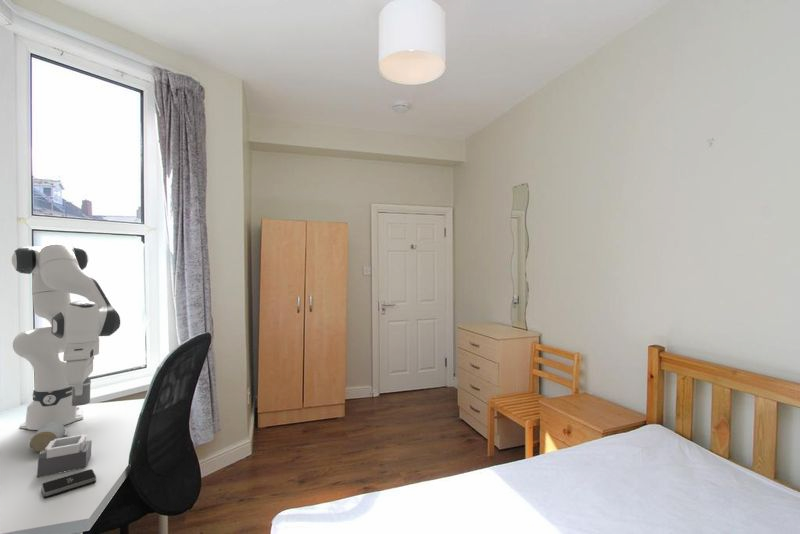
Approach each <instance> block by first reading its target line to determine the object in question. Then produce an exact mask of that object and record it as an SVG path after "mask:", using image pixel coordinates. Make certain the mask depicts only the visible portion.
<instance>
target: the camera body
mask: <svg viewBox="0 0 800 534" xmlns="http://www.w3.org/2000/svg"><path fill="white" fill-rule="evenodd" d="M69 436H70V435H69ZM91 457H92V440H91V439H90V440H87V434H84V433H83V434H78V435H72V436H70V437H64V438H58V439H54V441H51V442H50V443H49V444H48V446H47V447H46V448H45V450H43V451H41V452H39V454H38V460H37V475H36V477H37V478H41V477H40V476H42V477H46V476H45V475H47V476H51V474H52V475H56V474H55V473H57V474H60V473H59V472H62V473H65V472H64V471H67V472H69V471H68V470H71V471H74V470H73V469H76V470H80V469H79V468H81V469H85V468H84V467H86V468H87V466H86V465H88V463H89V461H90V459H91Z"/></svg>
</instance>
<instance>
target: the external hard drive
mask: <svg viewBox="0 0 800 534" xmlns="http://www.w3.org/2000/svg"><path fill="white" fill-rule="evenodd" d="M96 482H97V475H96V474H95V471H94V470H93V468H90V469H86V470H84V471H79V472H77V473H73V474H69V475H65V476H63V477H58V478H55V479H52V480H49V481H45V482H42V483H41V492H42V496H43V498H44V499H50V498H52V497H55V496H59V495H62V494H65V493H68V492H72V491H74V490H77V489H81V488H84V487H87V486H90V485H94V484H95V483H96Z"/></svg>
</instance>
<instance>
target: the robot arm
mask: <svg viewBox="0 0 800 534" xmlns="http://www.w3.org/2000/svg"><path fill="white" fill-rule="evenodd" d="M88 263H89V255H88V252H87V251H86V249H85V248H83V247H81V246H77V245H76V246H75V245H72V246H69V245H66V244H63V243H60V242H59V243H57V242H55V243H49V244H46V245H43V246H42V245H41V246H40V245H39V246H22V247H18V248H16V249H15V250H14V252H13V254H12V256H11V264H12V266H13V268H14V269H15V271H16V272H18V273H20V274H25V275H30V274H33V277H32V284H31V292H32V302H33V303H32V304H33V311H34V314H35V315H36V316H38V317H40V318H43V319H45V320H47V321H48V322H49V323H50V326H46V327H38V328H37V327H36V328H31V329H28V330H24V331H21V332H18V334H17V335H16V336H15V337H14V339H13V341H12V349H13V351H14V353H15V354H16V355H18V356H19V357H20V358H22V359H25V360H26V361H28V362H29V364H30V365H31V366H32V369H33V372H34V390H32V402H31V403H29V404H28V405H27V407H26V414H25V422H23V423H21V424H19V429H27V430H31V431H38V430H39V429H40V427H42V426H43V425H45V424H47V423H51V422H57V423H60V424H62V425H63V426H65V425H69V424H71V423H74V422H76V421H80V420H83V419H84V414H83V409H82V407H80V406H72V385H74V388H75V395H76V396H77V395H82V393H83V382H84V381H85V380H86V379H87V377H89V376H90V375H91V374H92V372H93V371H94V359H95V356H97V355H99V354H100V337H110V336H112V335H113V334H114V333H116V332H117V331H118V330H119V328H120V326H121V316H120V315H119V313H118V311H117V310H116V309H115V308H114V307H113V306H112V304H111V303H110V301H109V298H108V297H107V296H106V294H105V292H104V291H103V289H102V287H101V286H100V284H99V282H98V281H97V280H96V279H95V278H94V277H92V276H89V275H88V274H87V273H85V271H83V270H84V269H86V268H87V266H88ZM71 294H73V295H77V296H81V297H83V298H85V299H87V300H77V301H73V302H71V301H72V300H71ZM61 353H63V361H61V359H60V357H59V354H61Z"/></svg>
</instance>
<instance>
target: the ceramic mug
mask: <svg viewBox="0 0 800 534" xmlns="http://www.w3.org/2000/svg"><path fill="white" fill-rule="evenodd" d="M64 437H70V435H69V434H66V427H65V425H62V424H60V423H57V422H51V423H47V424H45V425H43V426H42V427H40V429H39V430H36V432H35V433H34V434H33V436H32V437H31V439H30V442H29V446H30V447H29V448H30V449H32V451H34V452H36V453H40V452H41V451H43V450H45V448H46V447H47V446H48V444H49V443H50V442H51V441H54V439H58V438H64Z"/></svg>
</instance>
